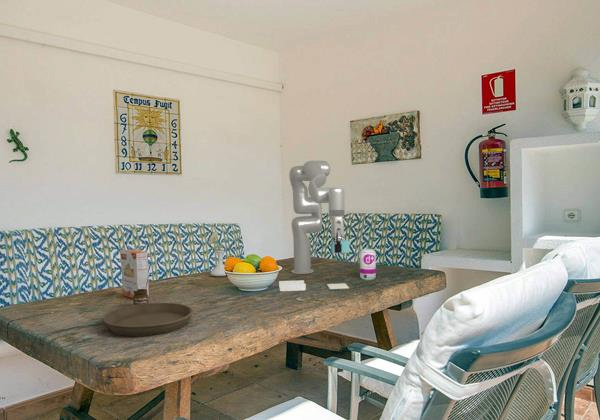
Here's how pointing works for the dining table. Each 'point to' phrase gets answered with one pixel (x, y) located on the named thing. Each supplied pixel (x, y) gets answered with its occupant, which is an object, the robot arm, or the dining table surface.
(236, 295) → the dining table surface
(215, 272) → the flower in vase
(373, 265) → the supplement can
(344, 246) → the teal block
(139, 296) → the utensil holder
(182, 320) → the plant saucer
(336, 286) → the tile
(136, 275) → the cracker box
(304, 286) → the channel
